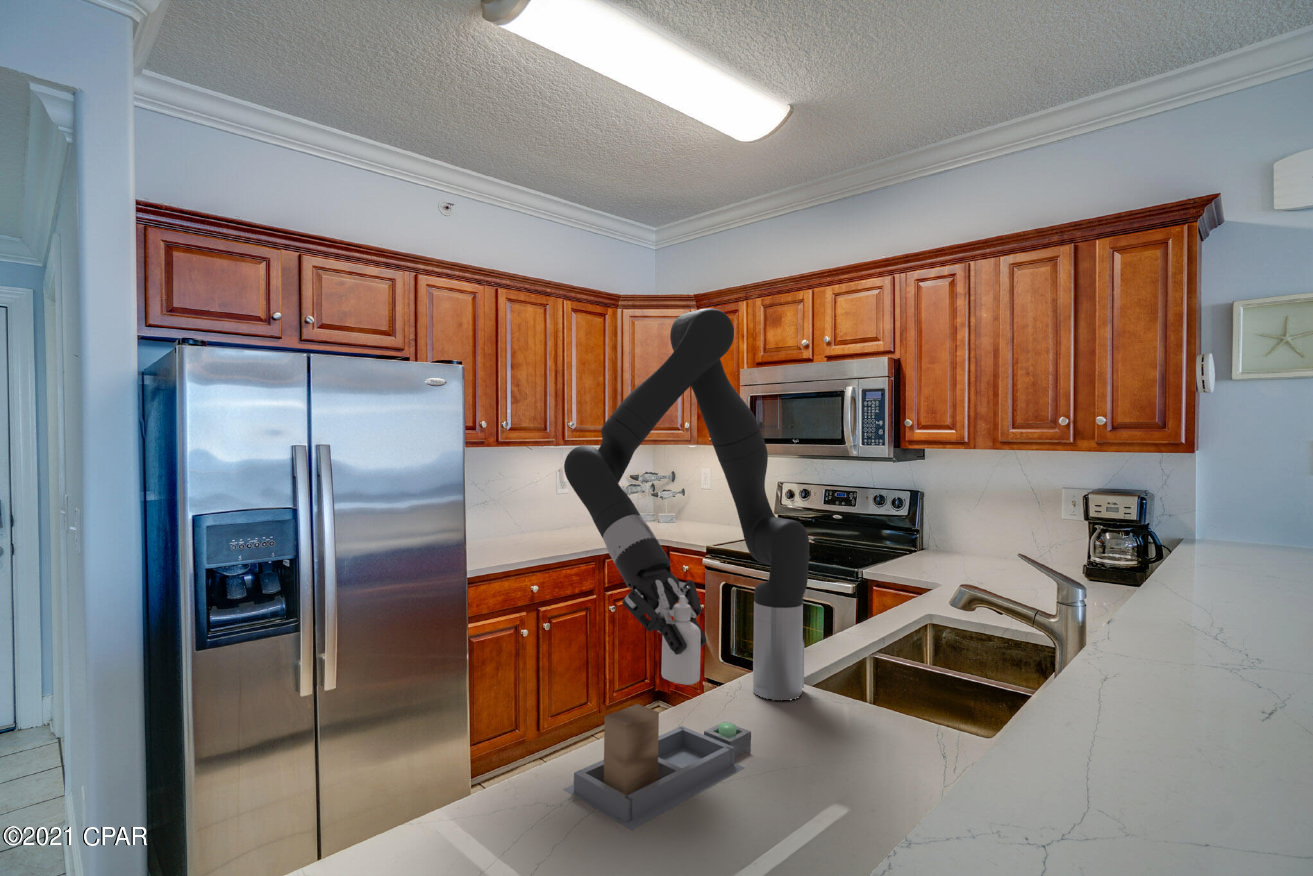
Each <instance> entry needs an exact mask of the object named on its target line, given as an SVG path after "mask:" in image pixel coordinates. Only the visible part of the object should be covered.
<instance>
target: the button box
mask: <svg viewBox="0 0 1313 876" xmlns="http://www.w3.org/2000/svg"><path fill="white" fill-rule="evenodd" d="M724 722H725V721H723V722H722V723H724ZM719 724H720V723H718V724H716V725H715V726H712V727H710V728H707V729H705V730H704V731H703V735H706V736H708V737H711V738H713V739H715V740H718V741H720V742H723V743H725V744H728V745H730V746H733V747H734V758H736V757H737V756H740V755H741V754H743V753H747V754H748V755H751V753H752V748H751V747H752V744H751V743H752V731H750V730H748V729H745V728H743V727H740V726H737V725H736V735H734V736H732V737H730V738H728V737H726V736H723V735H721V734H719Z"/></svg>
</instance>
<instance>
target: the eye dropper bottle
mask: <svg viewBox="0 0 1313 876" xmlns="http://www.w3.org/2000/svg"><path fill="white" fill-rule="evenodd" d="M690 614H691V606H690V605H688V604H687V603H686V600H685V596H680V599H679V601H678V602H677V603H676V604H675V605H674V616H673V619H672V621H673V622H672V624H675V625H676V627H677V628H678V630H679V632H680V634H681V635H682V637H683V639H684V641H685V642H686V644H687V648H686V649H685V650H684V651H683V652H682V653H681V654H678V655H676V654H675V653H674V651H672V650H671V649H670V647H669V645H668V643H667V642H666V640H665V638H664V636H663V635H662V637H661V639H662V641H661V669H660V671H661V672H660V673H661V677H662V679H664V680H666V681H669V682H670V683H675V684H680V685H686V686H691V685H694V684H696V683H698V682H699V681H700V680H701V652H702V651H701V650H702V649H701V648H702V647H701V631H700V629H699V628H698V626H696V625H695V624H694V623H692V622H690V621H689V620H690Z"/></svg>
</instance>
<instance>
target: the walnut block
mask: <svg viewBox="0 0 1313 876" xmlns="http://www.w3.org/2000/svg"><path fill="white" fill-rule="evenodd" d="M659 715H660V712H659V711H657V710H654V709H651V708H649V707H647V706H644V705H641V704H639V703H636V704H634V705H632V706H631V705H630V706H628V707H625V708H623V709H620V710H618V711H614V712H612V713H609V714H607V715H605V716H604V723H603V724H604V725H603V726H604V727H603V728H604V730H603V731H604V732H603V734H604V735H603V736H604V738H603V739H604V740H603V743H604V745H603V760H604V783H605V784H606V785H608V786H610V787H612V788H614V789H615V790H617V791H619V792H621V793H623V794H624V795H626V796H628V795H630V794H632V793H634V792H636V791H638V790H640V789H642V788H644V787H646V786H648V785H650V784H652V783H654V782H656V781H658V736H660V735H659V728H660V727H659V726H660V725H659V723H660V719H659V717H660V716H659Z"/></svg>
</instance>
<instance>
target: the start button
mask: <svg viewBox="0 0 1313 876" xmlns="http://www.w3.org/2000/svg"><path fill="white" fill-rule="evenodd" d="M723 722H724V723H723ZM723 722H720V723H718V724H719V734H721V735H723V736H726V737H728V738H730V737H732V736H734V735H736V726H737V725H736V724H735V723H733V722H728V721H723Z"/></svg>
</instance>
